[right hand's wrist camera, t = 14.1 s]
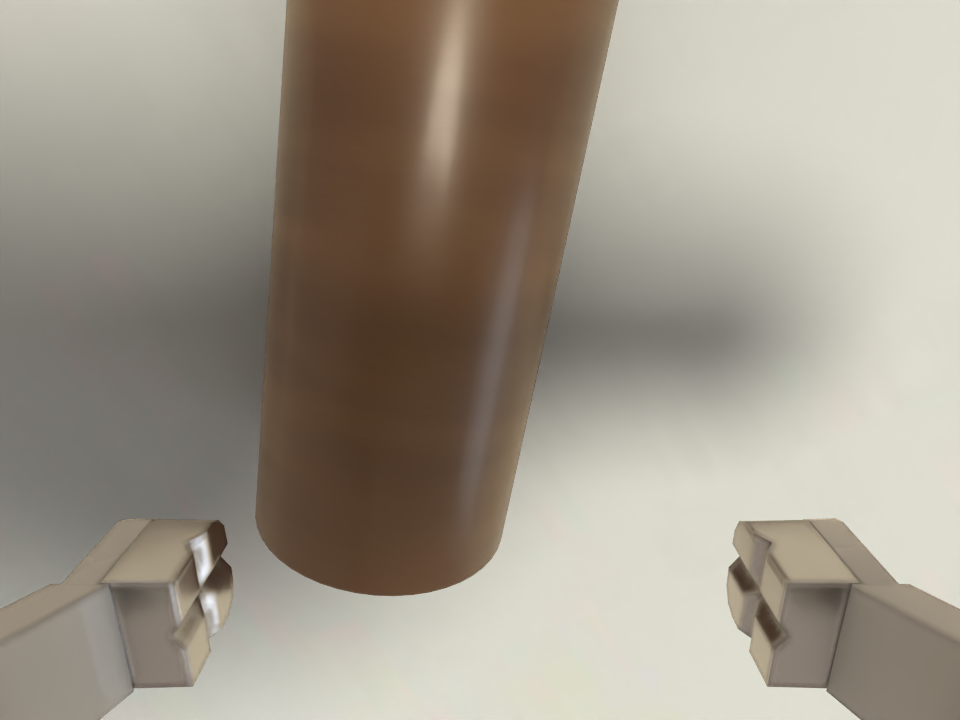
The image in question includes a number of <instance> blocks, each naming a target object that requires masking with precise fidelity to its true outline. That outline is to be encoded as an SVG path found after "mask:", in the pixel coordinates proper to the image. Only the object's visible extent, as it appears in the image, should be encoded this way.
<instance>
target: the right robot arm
mask: <svg viewBox="0 0 960 720" xmlns="http://www.w3.org/2000/svg"><path fill="white" fill-rule="evenodd" d="M226 545H227V539H226V534H225V529H224V525H223V524H222V523H221V522H220V521H219V520H179V519H156V520H155V519H124V520H121V521H118V522H117V523H116V524H115V525H114V526H113V527H112V528H111V529H110V530H109V532H108V533H107V534H106V535H105V536H104V537H103V538H102V539H101V540H100V542H99V543H98V544H97V545H96V546H95V547H94V548H93V549H92V550H91V552H90V553H89V554H88V555H87V556H86V557H85V558H84V559H83V560H82V562H81V563H80V564H79V565H78V566H77V567H76V568H75V569H74V570H73V572H72V573H71V574H70V575H69V576H68V577H67V578H66V579H65V580H64V582H63V583H62V584H50V585H48V586H46V587H44V588H42V589H40V590H38V591H36V592H34V593H32V594H30V595H28V596H26V597H24V598H22V599H20V600H18V601H16V602H14V603H12V604H10V605H8V606H6V607H4V608H1V609H0V720H100V719H101V718H102V717H103V716H104V715H106V714H107V713H108V712H109V711H110V710H112V709H113V708H114V707H115V706H116V705H118V704H119V703H120V702H121V701H122V700H124V699H125V698H126V697H127V696H128V695H130V694H131V693H132V692H133V688H157V687H192V686H193V685H194V683H195V681H196V679H197V677H198V675H199V673H200V671H201V669H202V667H203V665H204V663H205V662H206V660H207V658H208V656H209V654H210V652H211V650H210V644H209V638H210V637H211V636H213V635H214V634H215V633H217V632H218V631H220V630H221V629H222V628H223V626H224V623H225V621H226V619H227V617H228V615H229V611H230V607H231V602H232V598H233V576H232V569H231V567H230V566H229V565H228V564H227V563H226V561H225V560H224V559H223V558H222V557H221V554H222V552H223V551H224V549H225V547H226ZM733 545H734V547H735V549H736V550H737V552H738V554H739V557H738V558H737V559H736V560H735V562H734V563H733V564H732V565H731V566H730V567H729V570H728V578H727V595H728V604H729V607H730V611H731V614H732V617H733V619H734V621H735V623H736V626H737V628H738V629H739V630H740V631H742V632H743V633H745V634H746V635H748V636H749V637H750V638H751V644H750V650H749V652H750V654H751V656H752V658H753V659H754V661H755V663H756V665H757V667H758V669H759V671H760V673H761V675H762V677H763V679H764V681H765V683H766V685H767V687H802V688H827V690H826V691H827V692H828V693H829V694H831V695H832V696H833V697H834V698H835V699H837V700H838V701H839V702H840V703H841V704H843V705H844V706H845V707H846V708H847V709H849V710H850V711H851V712H852V713H853V714H855V715H856V716H857V717H858V718H859V719H861V720H960V609H958V608H956V607H954V606H952V605H950V604H948V603H946V602H944V601H942V600H940V599H938V598H936V597H934V596H932V595H930V594H928V593H926V592H924V591H922V590H920V589H918V588H916V587H914V586H912V585H910V584H898V583H897V582H896V580H895V579H894V578H893V577H892V576H891V575H890V574H889V573H888V572H887V570H886V569H885V568H884V567H883V566H882V565H881V564H880V563H879V562H878V560H877V559H876V558H875V557H874V556H873V555H872V554H871V553H870V552H869V550H868V549H867V548H866V547H865V546H864V545H863V544H862V543H861V542H860V540H859V539H858V538H857V537H856V536H855V535H854V534H853V533H852V531H851V530H850V529H849V528H848V527H847V526H846V525H845V524H844V523H843V522H842V521H840V520H837V519H835V518H833V519H804V520H780V521H739V522H738V525H737V527H736V529H735V532H734V538H733Z"/></svg>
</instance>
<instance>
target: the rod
mask: <svg viewBox="0 0 960 720" xmlns="http://www.w3.org/2000/svg"><path fill="white" fill-rule="evenodd" d="M618 1H619V0H287V7H286V24H285V40H284V56H283V73H282V89H281V105H280V121H279V138H278V154H277V170H276V187H275V203H274V219H273V235H272V252H271V268H270V284H269V301H268V317H267V333H266V350H265V366H264V382H263V398H262V415H261V431H260V447H259V464H258V480H257V496H256V514H255V518H256V524H257V528H258V530H259V533H260V535H261V537H262V540H263V541H264V542H265V544H266V545H267V547H268V548H269V550H270V551H271V552H272V553H273V554H274V555H275V556H276V557H277V558H278V559H279V560H280V561H282V562H283V563H284V564H286V565H287V566H288V567H290V568H291V569H293V570H294V571H296V572H298V573H300V574H301V575H303V576H305V577H307V578H309V579H312V580H314V581H316V582H318V583H321V584H324V585H327V586H330V587H333V588H336V589H340V590H345V591H349V592H354V593H360V594H368V595H379V596H403V595H415V594H421V593H428V592H432V591H436V590H440V589H444V588H447V587H450V586H452V585H455V584H457V583H460V582H462V581H464V580H465V579H467V578H469V577H471V576H473V575H474V574H475V573H477V572H478V571H479V570H481V569H482V568H483V567H484V566H485V565H486V564H487V563H488V562H489V561H490V560H491V559H492V557H493V556H494V554H495V552H496V551H497V549H498V546H499V544H500V541H501V537H502V533H503V528H504V523H505V519H506V514H507V510H508V505H509V500H510V496H511V491H512V487H513V482H514V478H515V473H516V468H517V464H518V459H519V455H520V450H521V446H522V441H523V436H524V432H525V427H526V423H527V418H528V413H529V409H530V404H531V400H532V395H533V391H534V386H535V381H536V377H537V372H538V368H539V363H540V358H541V354H542V349H543V345H544V340H545V336H546V331H547V326H548V322H549V317H550V313H551V308H552V303H553V299H554V294H555V290H556V285H557V281H558V276H559V271H560V267H561V262H562V258H563V253H564V248H565V244H566V239H567V235H568V230H569V226H570V221H571V216H572V212H573V207H574V203H575V198H576V193H577V189H578V184H579V180H580V175H581V171H582V166H583V161H584V157H585V152H586V148H587V143H588V138H589V134H590V129H591V125H592V120H593V116H594V111H595V106H596V102H597V97H598V93H599V88H600V84H601V79H602V74H603V70H604V65H605V61H606V56H607V51H608V47H609V42H610V38H611V33H612V29H613V24H614V19H615V15H616V10H617V6H618Z"/></svg>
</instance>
